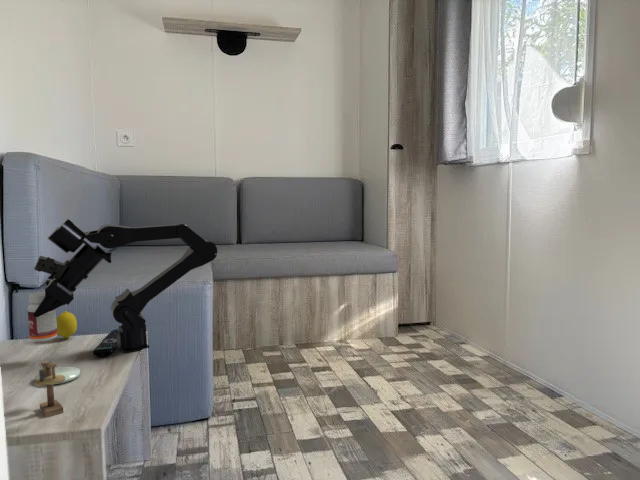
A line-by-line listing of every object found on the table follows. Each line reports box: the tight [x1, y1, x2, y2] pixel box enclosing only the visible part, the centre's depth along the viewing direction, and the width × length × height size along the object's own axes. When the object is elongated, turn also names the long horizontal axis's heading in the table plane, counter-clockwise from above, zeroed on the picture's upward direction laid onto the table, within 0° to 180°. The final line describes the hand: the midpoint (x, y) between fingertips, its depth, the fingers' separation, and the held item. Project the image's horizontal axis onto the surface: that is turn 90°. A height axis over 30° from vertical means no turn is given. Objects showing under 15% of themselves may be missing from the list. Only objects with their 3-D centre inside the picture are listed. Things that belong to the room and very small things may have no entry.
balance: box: [34, 361, 65, 418], centre depth 101 cm, size 11×4×10 cm, turn 41°
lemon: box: [56, 310, 78, 340], centre depth 147 cm, size 6×6×8 cm
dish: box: [35, 366, 81, 385], centre depth 117 cm, size 9×9×1 cm
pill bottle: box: [27, 291, 58, 342], centre depth 128 cm, size 6×6×11 cm
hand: (35, 313), depth 127 cm, fingers closed on pill bottle, 6 cm apart
